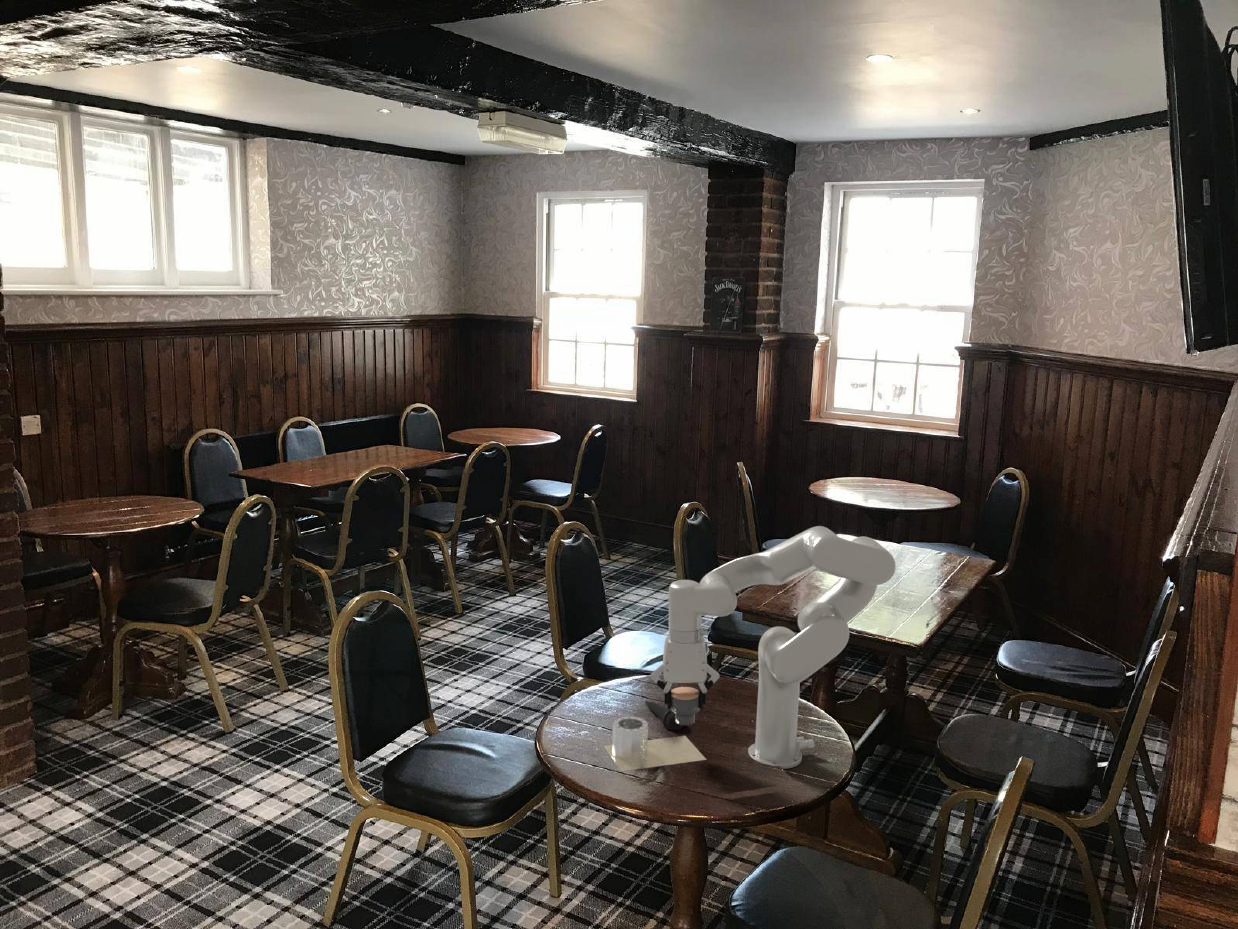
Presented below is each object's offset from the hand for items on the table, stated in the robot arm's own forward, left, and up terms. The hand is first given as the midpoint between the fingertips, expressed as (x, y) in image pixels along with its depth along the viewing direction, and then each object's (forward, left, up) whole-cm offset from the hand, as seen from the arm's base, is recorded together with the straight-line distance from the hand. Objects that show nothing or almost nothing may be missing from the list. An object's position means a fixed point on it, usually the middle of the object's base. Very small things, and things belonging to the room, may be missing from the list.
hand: (684, 706), depth 230 cm
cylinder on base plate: (+6, -2, -13) cm, 14 cm away
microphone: (-4, -21, -13) cm, 25 cm away
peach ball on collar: (0, 0, -4) cm, 4 cm away
